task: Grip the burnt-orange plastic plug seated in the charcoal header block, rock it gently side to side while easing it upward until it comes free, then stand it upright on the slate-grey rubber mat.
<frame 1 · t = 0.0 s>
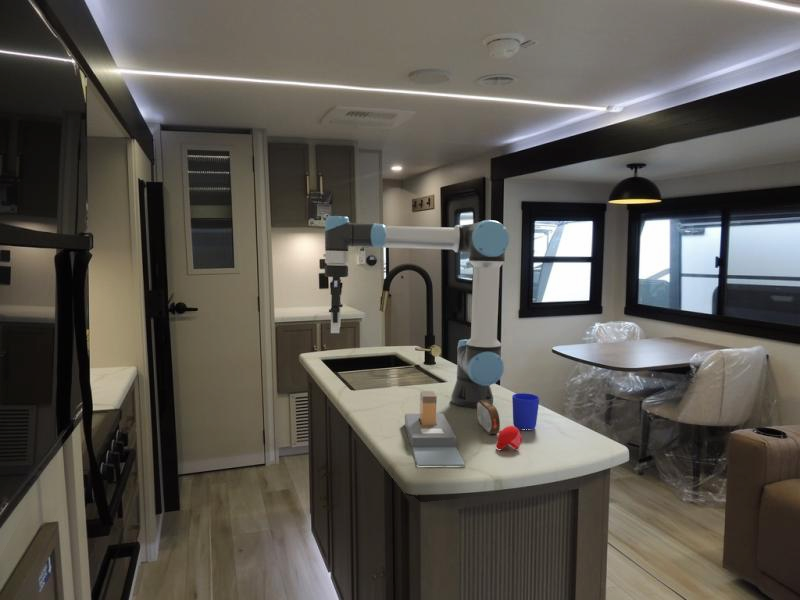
hand: (335, 329, 177), 28 cm above the counter, tool pointing down, fingers open, 13 cm apart
cap: (508, 449, 151), on the counter
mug: (525, 426, 171), on the counter
tin: (486, 430, 167), on the counter
plug: (427, 433, 162), resting in header
mat: (437, 458, 142), on the counter
header: (428, 436, 159), on the counter
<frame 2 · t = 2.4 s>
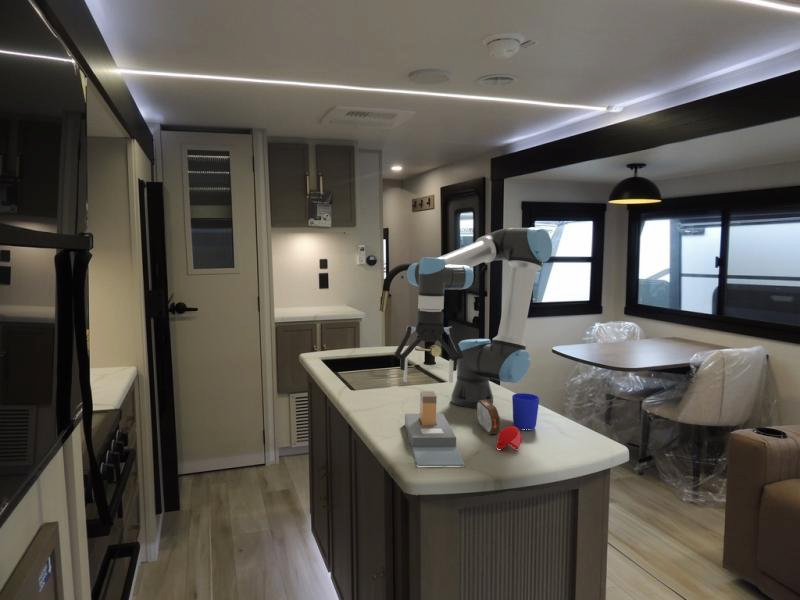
hand: (427, 381, 160), 16 cm above the counter, tool pointing down, fingers open, 13 cm apart
nothing on the counter moved.
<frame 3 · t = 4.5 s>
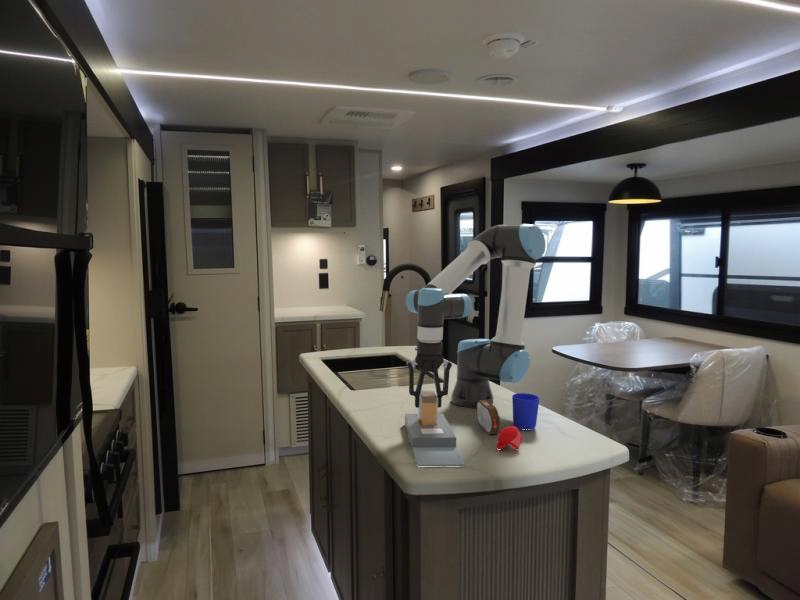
hand: (427, 417, 162), 5 cm above the counter, tool pointing down, fingers closed on plug, 4 cm apart
plug: (427, 433, 162), resting in header, touching gripper
everything else where it was.
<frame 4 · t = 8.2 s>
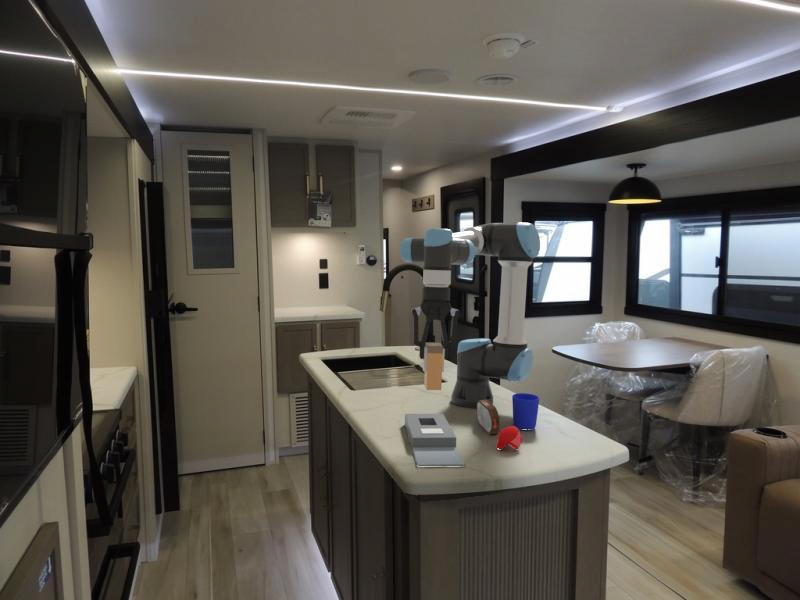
hand: (433, 370, 149), 22 cm above the counter, tool pointing down, fingers closed on plug, 4 cm apart
plug: (432, 387, 149), point 17 cm above the counter, touching gripper
everything else where it was.
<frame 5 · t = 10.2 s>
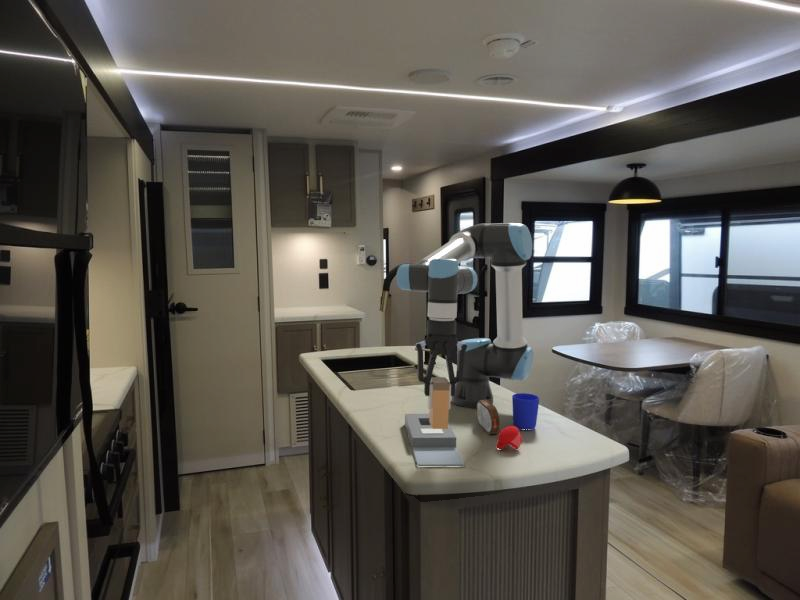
hand: (439, 407, 141), 14 cm above the counter, tool pointing down, fingers closed on plug, 4 cm apart
plug: (438, 425, 141), point 9 cm above the counter, touching gripper
everything else where it was.
when the fingers open (7 cm above the counter, at t = 12.1 s): plug drops 1 cm, resting on mat.
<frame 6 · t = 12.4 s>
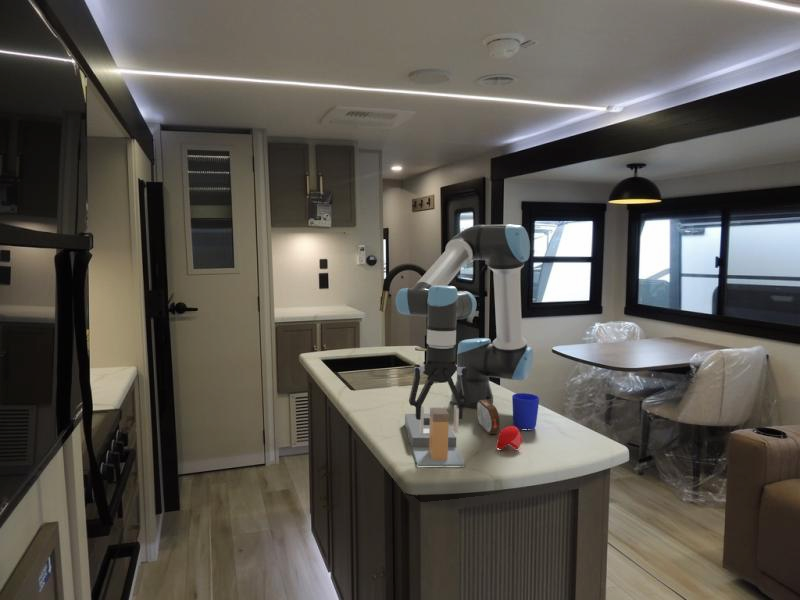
hand: (438, 431, 142), 7 cm above the counter, tool pointing down, fingers open, 8 cm apart
plug: (437, 455, 142), point 1 cm above the counter, touching mat
everything else where it was.
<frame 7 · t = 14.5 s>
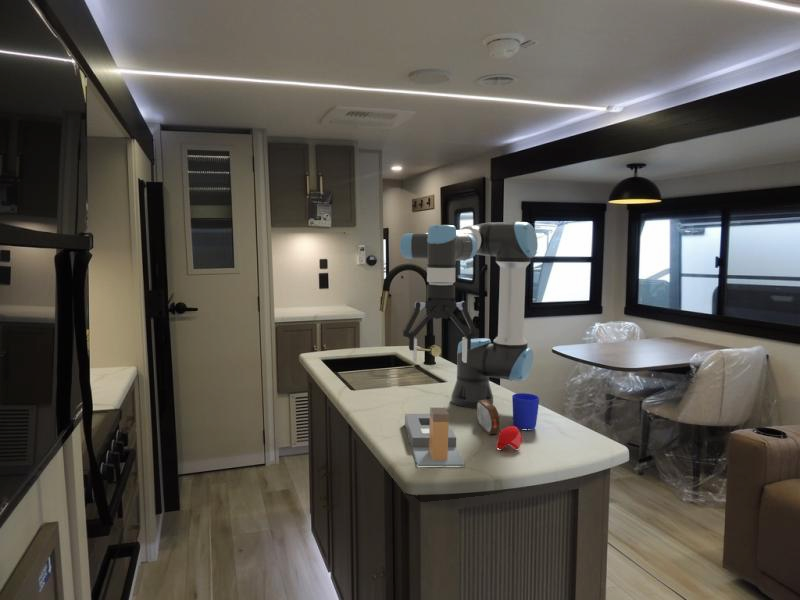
hand: (439, 362, 146), 24 cm above the counter, tool pointing down, fingers open, 13 cm apart
nothing on the counter moved.
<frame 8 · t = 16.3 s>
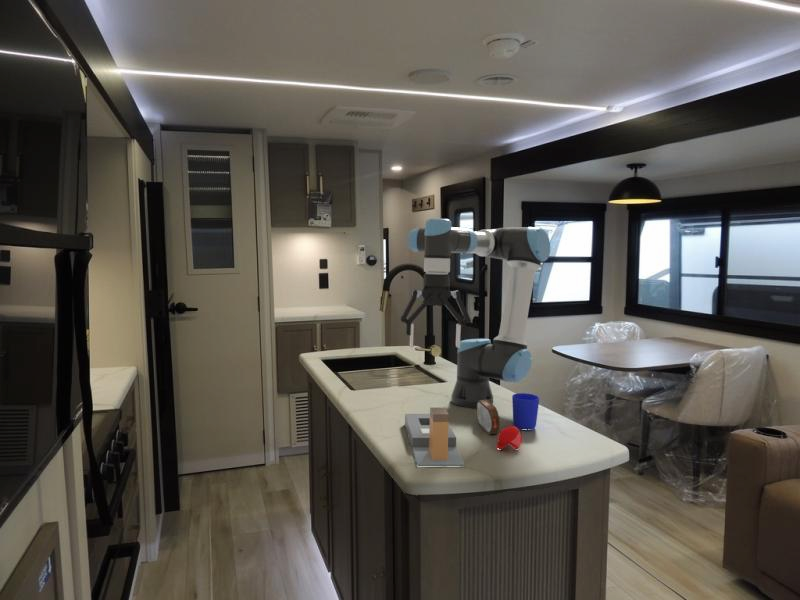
hand: (434, 346, 157), 27 cm above the counter, tool pointing down, fingers open, 13 cm apart
nothing on the counter moved.
at the end: plug inside the target area on the mat (0.1 cm from its centre), point 0.8 cm above the mat's base; plug tilted 0°; plug touching mat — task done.
